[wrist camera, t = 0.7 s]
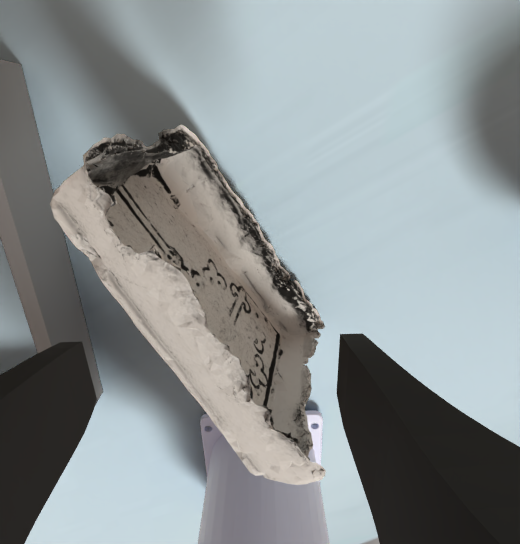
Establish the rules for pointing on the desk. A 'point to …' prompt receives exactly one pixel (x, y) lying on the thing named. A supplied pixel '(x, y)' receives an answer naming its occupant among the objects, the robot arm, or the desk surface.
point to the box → (35, 227)
